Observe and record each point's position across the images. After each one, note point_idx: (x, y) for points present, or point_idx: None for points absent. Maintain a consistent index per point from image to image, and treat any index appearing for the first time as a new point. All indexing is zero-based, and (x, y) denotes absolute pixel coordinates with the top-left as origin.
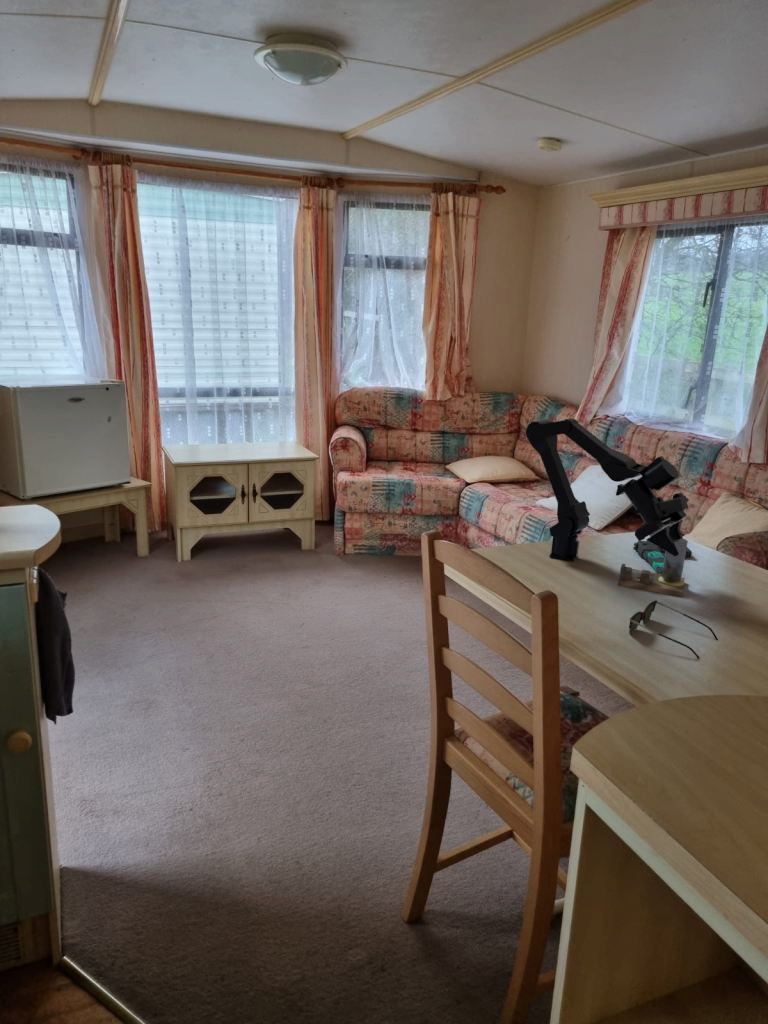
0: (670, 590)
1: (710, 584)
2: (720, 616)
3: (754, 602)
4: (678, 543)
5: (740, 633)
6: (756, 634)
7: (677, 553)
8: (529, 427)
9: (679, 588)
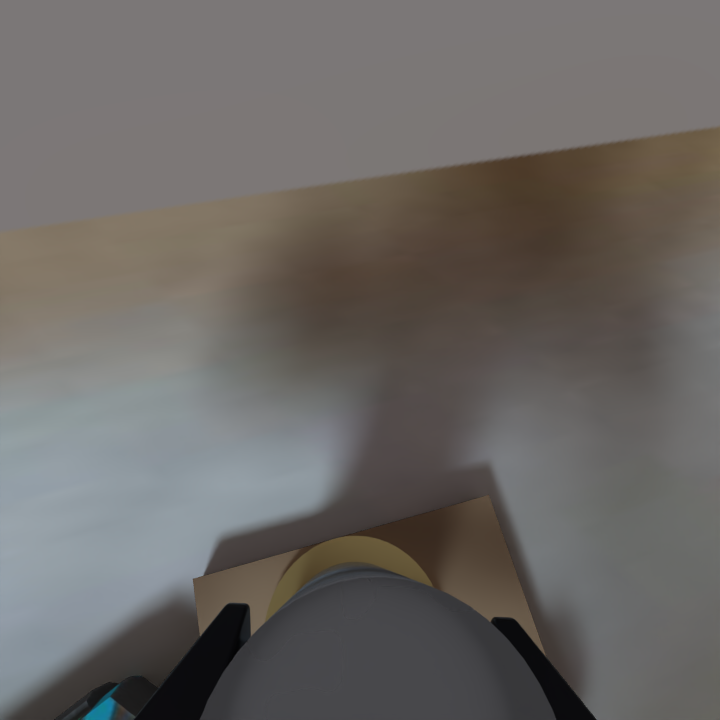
0: (515, 571)
1: (128, 431)
2: (574, 277)
3: (268, 209)
4: (538, 694)
5: (676, 187)
6: (629, 148)
7: (522, 633)
8: None
9: (440, 533)
